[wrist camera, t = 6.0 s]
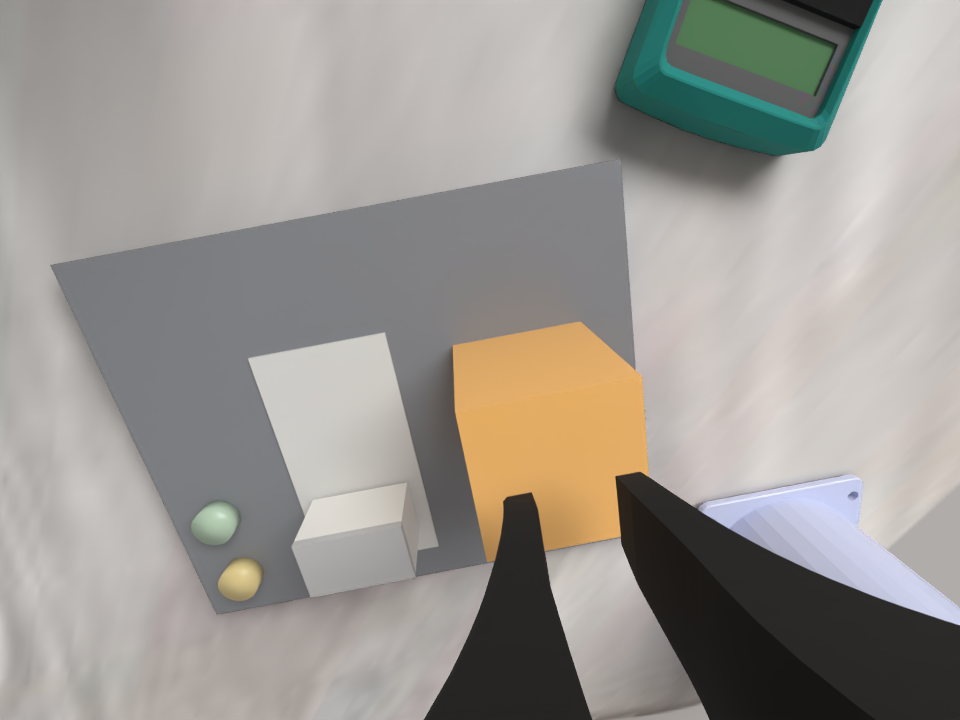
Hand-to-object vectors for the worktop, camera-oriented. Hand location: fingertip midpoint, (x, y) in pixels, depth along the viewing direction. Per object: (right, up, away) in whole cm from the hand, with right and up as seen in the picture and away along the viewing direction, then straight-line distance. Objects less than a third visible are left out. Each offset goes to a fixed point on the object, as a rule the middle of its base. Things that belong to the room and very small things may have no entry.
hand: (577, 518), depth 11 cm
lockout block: (0, +2, +7) cm, 8 cm away
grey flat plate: (-6, +2, +9) cm, 11 cm away
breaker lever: (-7, -3, +9) cm, 12 cm away
